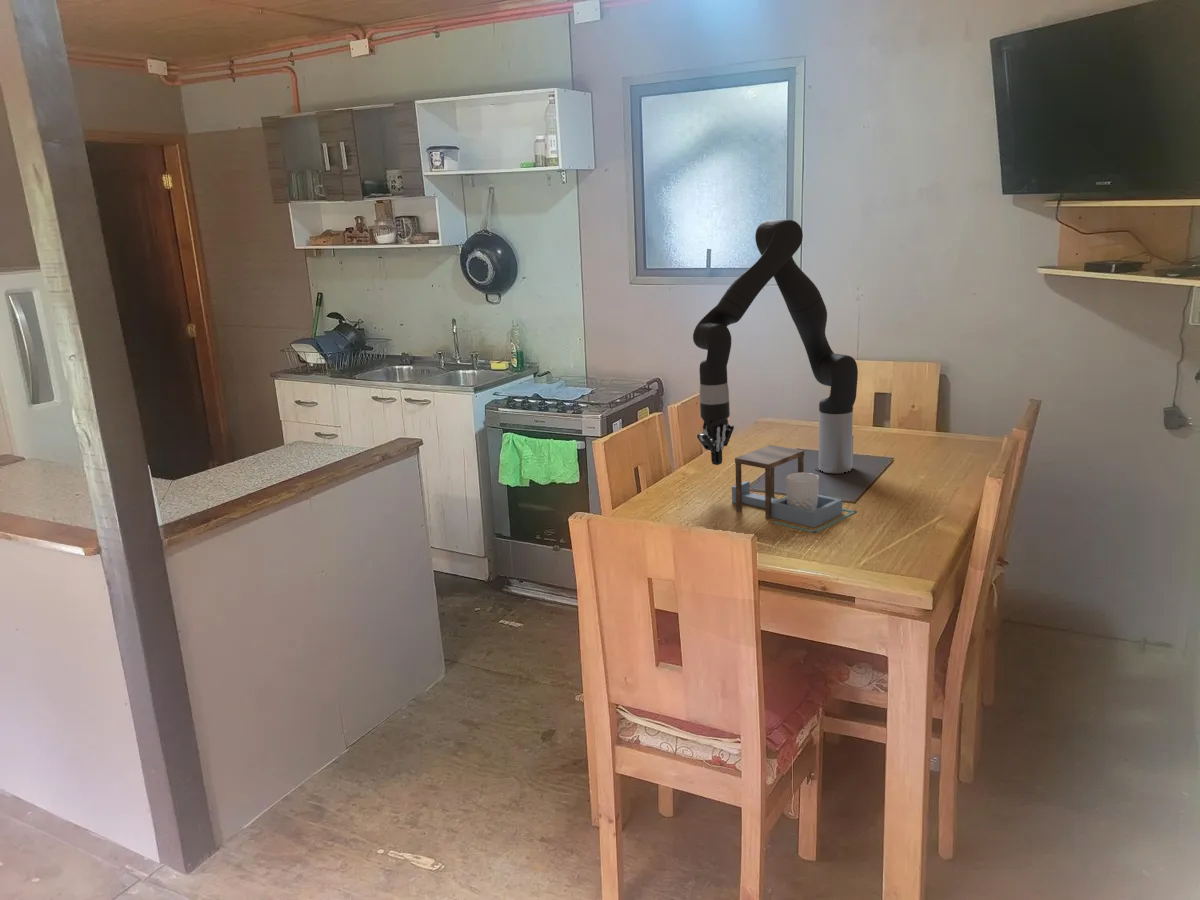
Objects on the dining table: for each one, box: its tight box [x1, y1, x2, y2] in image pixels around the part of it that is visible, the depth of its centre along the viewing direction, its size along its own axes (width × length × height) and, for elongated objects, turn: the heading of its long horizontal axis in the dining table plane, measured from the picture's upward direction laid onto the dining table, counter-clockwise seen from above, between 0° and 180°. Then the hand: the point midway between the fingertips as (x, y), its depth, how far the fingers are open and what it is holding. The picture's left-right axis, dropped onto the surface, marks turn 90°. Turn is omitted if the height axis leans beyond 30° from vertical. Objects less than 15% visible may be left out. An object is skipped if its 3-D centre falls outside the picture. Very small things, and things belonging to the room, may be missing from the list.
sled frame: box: [731, 480, 843, 528], centre depth 216 cm, size 12×26×4 cm, turn 44°
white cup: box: [785, 471, 820, 511], centre depth 211 cm, size 8×8×10 cm
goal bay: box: [773, 507, 858, 534], centre depth 210 cm, size 18×11×1 cm, turn 134°
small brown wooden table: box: [734, 444, 805, 520], centre depth 217 cm, size 15×10×14 cm, turn 134°
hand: (717, 463), depth 229 cm, fingers closed
